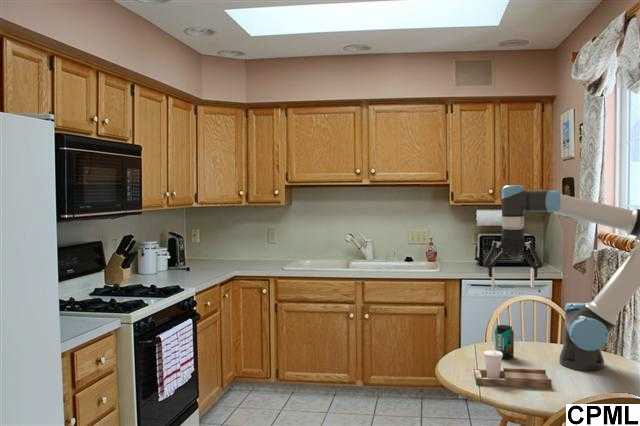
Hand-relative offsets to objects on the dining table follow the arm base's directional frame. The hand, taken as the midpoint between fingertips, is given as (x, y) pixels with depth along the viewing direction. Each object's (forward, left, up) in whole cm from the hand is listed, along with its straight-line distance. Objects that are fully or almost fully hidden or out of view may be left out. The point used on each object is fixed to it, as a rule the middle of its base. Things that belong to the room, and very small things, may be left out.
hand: (512, 286), depth 199 cm
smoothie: (+8, +12, -31) cm, 34 cm away
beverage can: (+1, -15, -31) cm, 34 cm away
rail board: (+2, +12, -31) cm, 33 cm away
